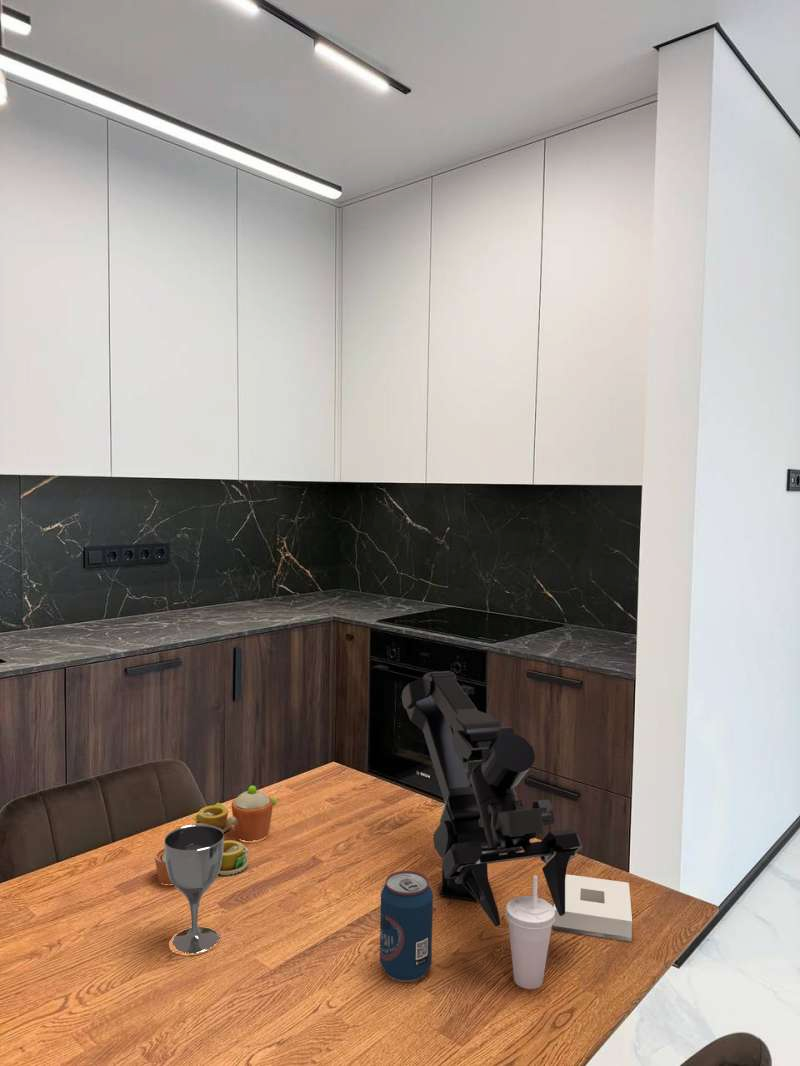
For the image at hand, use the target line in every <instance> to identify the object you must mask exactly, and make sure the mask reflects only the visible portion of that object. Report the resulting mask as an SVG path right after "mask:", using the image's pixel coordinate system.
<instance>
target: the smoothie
mask: <svg viewBox="0 0 800 1066" xmlns="http://www.w3.org/2000/svg"><path fill="white" fill-rule="evenodd" d="M538 878H539V876H538V875H533V877H532V879H533V880H532V896H530V895H522V896H521V895H520V896H516V897H512V898H511V899H510V900H509V901H507V903H506V905H505V917H506V919H507V920H508V930H509V941H510V948H511V949H510V951H511V961H512V972H513V980H514V982H515V984H516V985H517V986H519V988H523V989H526V990H536V989H538V988H540V987H542V985H543V982H544V975H545V971H546V970H545V969H546V962H547V957H548V952H549V951H548V950H549V945H550V940H551V934H552V928H553V923H554V921H555V910H554V905H552V904H551V903H549V902H548V901H547V900H545V899H543V898H540V897H538V881H539V879H538Z"/></svg>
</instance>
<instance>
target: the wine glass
mask: <svg viewBox="0 0 800 1066" xmlns="http://www.w3.org/2000/svg"><path fill="white" fill-rule="evenodd" d="M195 824H196V823H195ZM187 825H188V826H187ZM187 825H184V826H181V827H177V828H176V829H173V830H171V831H170V832H169V833H167V835H166V836H165V838H164V848H165V862H166V868H167V872H168V875H169V878H170V881H171V882H172V883H173V885H174V887H175V888H176V889H177V890H178V891H180V893H182V894H183V895H184V897H185V898H186V900H187V901H188V903H189V909H190V916H191V917H190V918H191V927H192V928H189V927H188V928H189V929H187V930H184V931H182V932H180V933H178V934H177V935H176V936H175V937H174V940H173V942H172V943H173V945H175V947H176V949H178V950H179V951H182V952H184V953H185V952H186V953H188V952H189V954H190V953H194V954H196V953H199V952H204V951H207V950H205V949H210V947H213V946H214V944H216V942H217V943H218V941H219V939H220V938H221V936H220V937H219V935H218V934H217V933H218V932H219V931H218V932H217V933H216V931H214V930H212V929H210V928H205V927H197V926H198V917H199V916H198V915H199V908H200V901H201V899H202V897H203V895H204V894H205V892H206V891H207V890H208V889H209V888H210V887H211V886H212V885H213V883H215V880H216V879H217V878H218V876H219V875H218V874H219V871H220V867H221V863H222V858H223V848H224V841H225V838H224V837H225V836H224V833H223V831H222V830H221V829H220V828H218V827H215V826H212V825H206V824H196V825H190V824H187ZM217 935H218V936H217ZM217 940H218V941H217ZM220 940H221V939H220Z"/></svg>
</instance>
